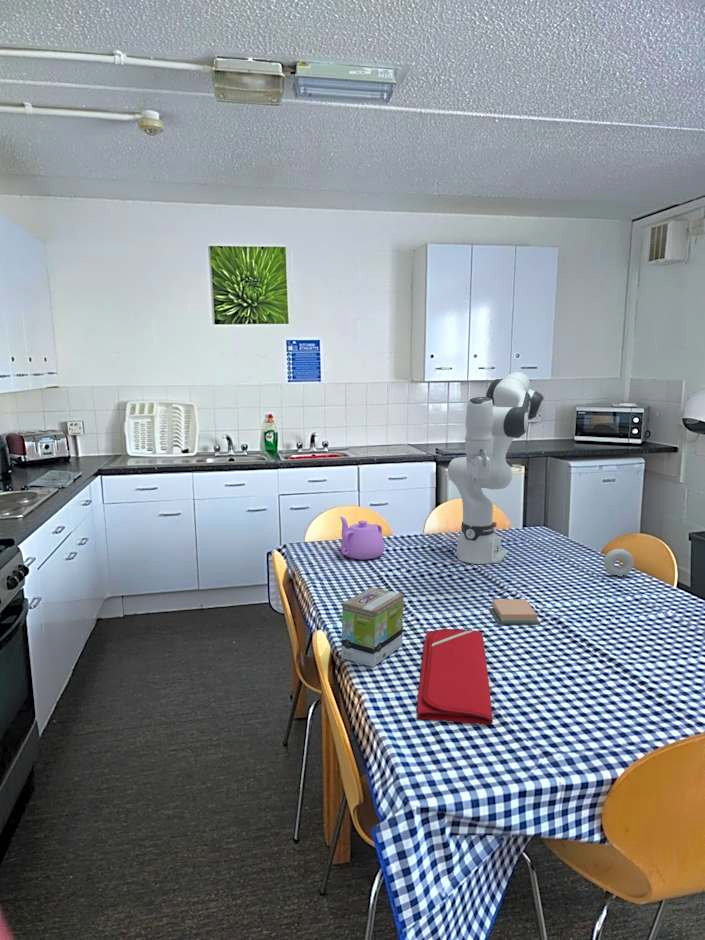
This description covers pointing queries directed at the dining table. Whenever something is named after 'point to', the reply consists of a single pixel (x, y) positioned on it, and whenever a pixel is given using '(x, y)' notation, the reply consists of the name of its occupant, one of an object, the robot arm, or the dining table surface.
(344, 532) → the teapot
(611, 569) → the donut
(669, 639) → the dining table surface
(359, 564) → the dining table surface
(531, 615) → the tile
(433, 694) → the dish drying mat
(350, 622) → the tea box
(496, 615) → the mat
